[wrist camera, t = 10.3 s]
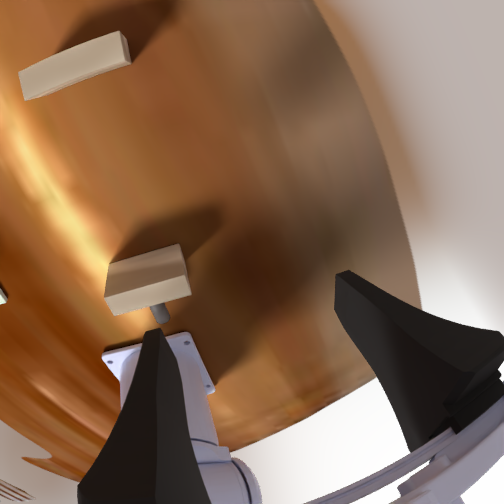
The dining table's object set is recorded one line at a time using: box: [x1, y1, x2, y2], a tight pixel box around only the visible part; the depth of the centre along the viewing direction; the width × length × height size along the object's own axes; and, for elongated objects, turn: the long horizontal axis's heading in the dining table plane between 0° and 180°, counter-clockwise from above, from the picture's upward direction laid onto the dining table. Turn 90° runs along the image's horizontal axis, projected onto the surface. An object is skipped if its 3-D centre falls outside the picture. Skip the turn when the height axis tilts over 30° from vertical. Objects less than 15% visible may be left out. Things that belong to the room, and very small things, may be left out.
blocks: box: [18, 31, 192, 324], centre depth 16 cm, size 17×5×4 cm, turn 7°
